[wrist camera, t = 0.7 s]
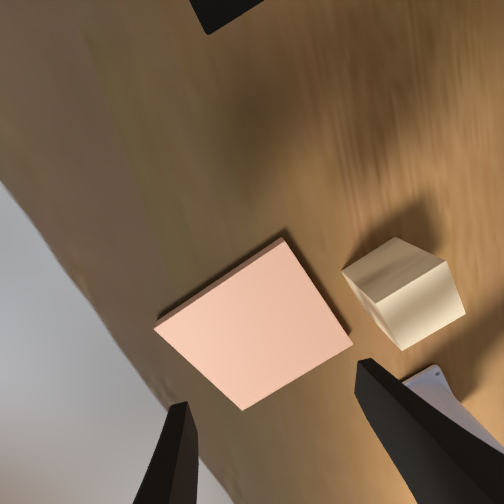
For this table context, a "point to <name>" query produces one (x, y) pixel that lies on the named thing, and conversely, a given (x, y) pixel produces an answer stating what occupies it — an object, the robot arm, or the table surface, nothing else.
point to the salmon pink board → (256, 327)
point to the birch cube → (405, 291)
